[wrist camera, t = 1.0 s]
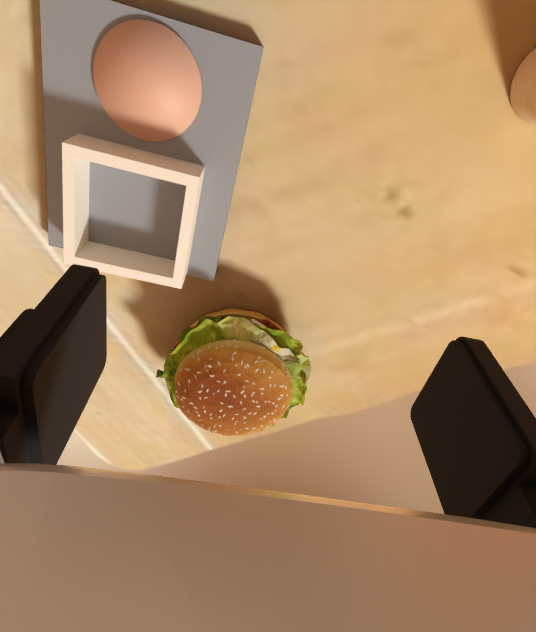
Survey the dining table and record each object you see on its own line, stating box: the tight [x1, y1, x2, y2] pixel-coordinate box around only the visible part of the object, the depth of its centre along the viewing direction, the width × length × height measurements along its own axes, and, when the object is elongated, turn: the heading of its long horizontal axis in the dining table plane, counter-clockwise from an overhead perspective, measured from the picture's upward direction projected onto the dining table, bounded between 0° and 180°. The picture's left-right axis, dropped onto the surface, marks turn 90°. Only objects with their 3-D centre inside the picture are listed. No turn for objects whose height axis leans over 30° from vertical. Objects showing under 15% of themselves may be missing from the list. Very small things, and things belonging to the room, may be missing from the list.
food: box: [156, 308, 311, 436], centre depth 40 cm, size 14×14×8 cm
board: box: [40, 0, 263, 289], centre depth 30 cm, size 18×14×4 cm
